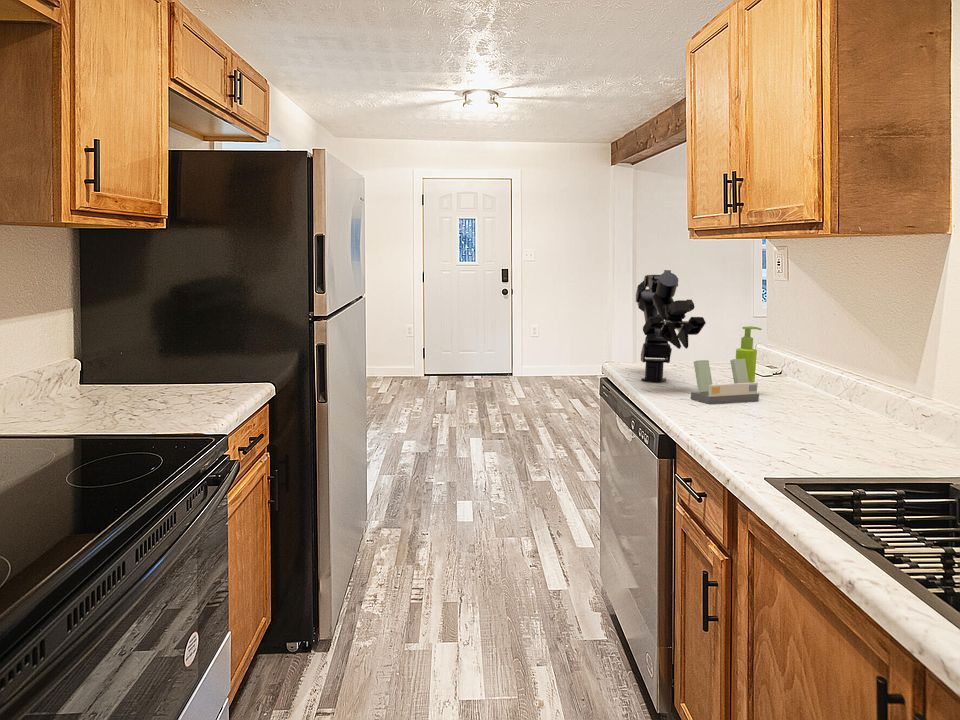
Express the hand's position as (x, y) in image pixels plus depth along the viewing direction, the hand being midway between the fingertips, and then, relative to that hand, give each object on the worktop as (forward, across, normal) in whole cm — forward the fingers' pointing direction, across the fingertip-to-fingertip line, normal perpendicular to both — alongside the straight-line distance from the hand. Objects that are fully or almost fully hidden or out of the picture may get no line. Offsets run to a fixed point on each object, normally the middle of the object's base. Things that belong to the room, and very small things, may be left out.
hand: (683, 347), depth 241 cm
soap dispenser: (+12, +20, +8) cm, 25 cm away
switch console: (+19, +6, +1) cm, 20 cm away
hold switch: (+17, +13, 0) cm, 21 cm away
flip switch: (+18, 0, -1) cm, 18 cm away
